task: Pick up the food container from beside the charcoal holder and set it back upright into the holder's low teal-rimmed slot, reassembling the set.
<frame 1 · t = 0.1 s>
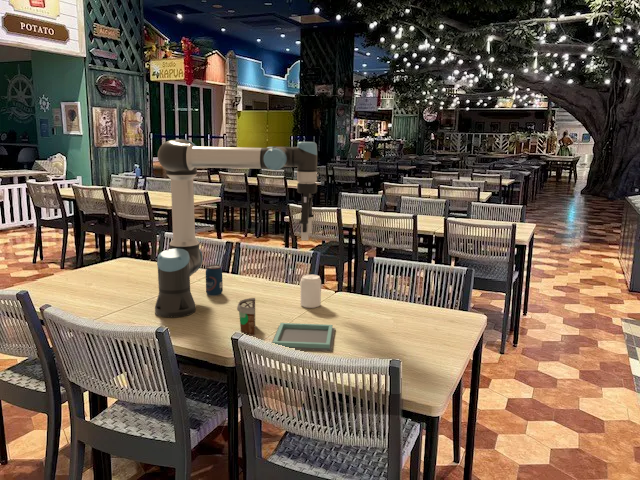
hand: (306, 236, 222), 28 cm above the table, tool pointing down, fingers open, 13 cm apart
soda can: (214, 294, 241), on the table
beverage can: (310, 306, 228), on the table
container holder: (303, 338, 192), on the table
food container: (246, 330, 200), on the table
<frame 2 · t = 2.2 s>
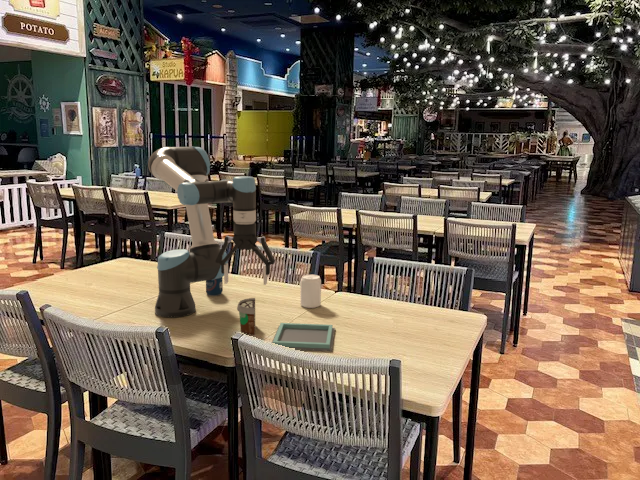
hand: (245, 283, 196), 17 cm above the table, tool pointing down, fingers open, 13 cm apart
nothing on the table moved.
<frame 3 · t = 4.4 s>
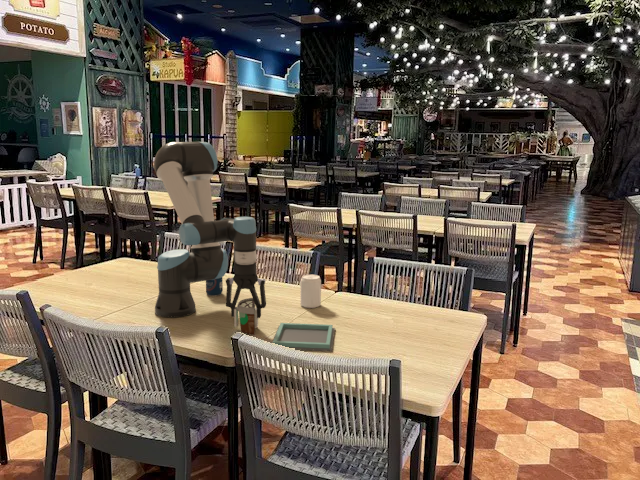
hand: (246, 326, 199), 2 cm above the table, tool pointing down, fingers closed on food container, 6 cm apart
food container: (246, 330, 200), on the table, touching gripper
everything else where it was.
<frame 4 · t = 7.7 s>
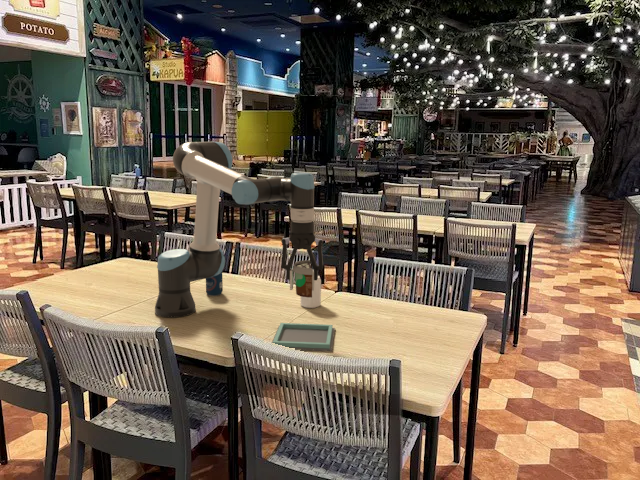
hand: (302, 289, 189), 17 cm above the table, tool pointing down, fingers closed on food container, 6 cm apart
food container: (301, 293, 189), point 16 cm above the table, touching gripper
everything else where it was.
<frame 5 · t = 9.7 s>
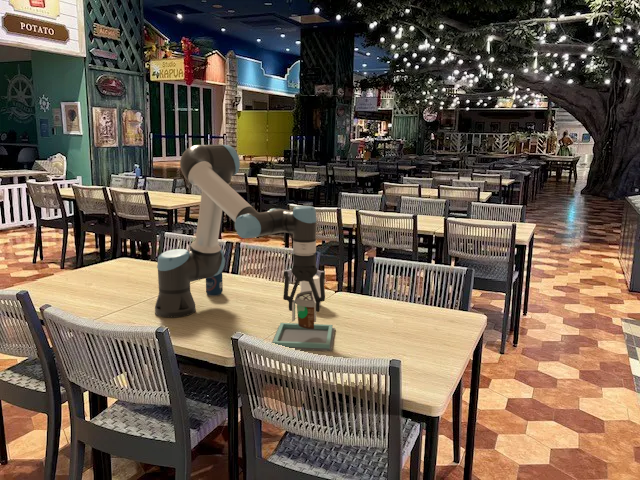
hand: (304, 320, 191), 7 cm above the table, tool pointing down, fingers closed on food container, 6 cm apart
food container: (303, 324, 191), point 5 cm above the table, touching gripper
everything else where it was.
when the fingers open (3 cm above the table, at t = 11.2 s): food container stays where it is, resting on container holder.
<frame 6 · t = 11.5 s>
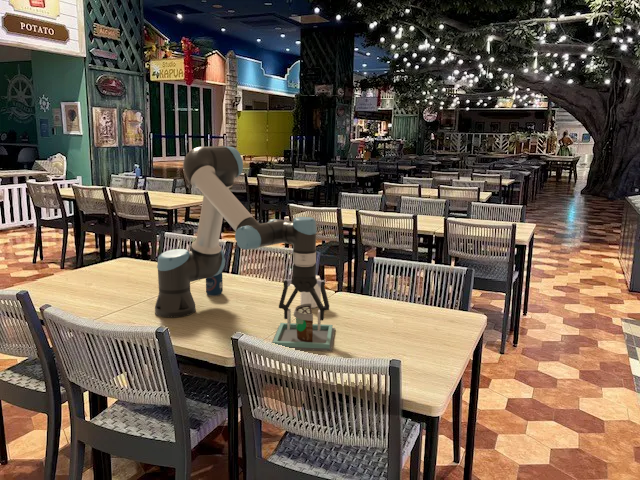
hand: (303, 328, 192), 4 cm above the table, tool pointing down, fingers open, 9 cm apart
food container: (302, 337, 192), resting on container holder
everything else where it was.
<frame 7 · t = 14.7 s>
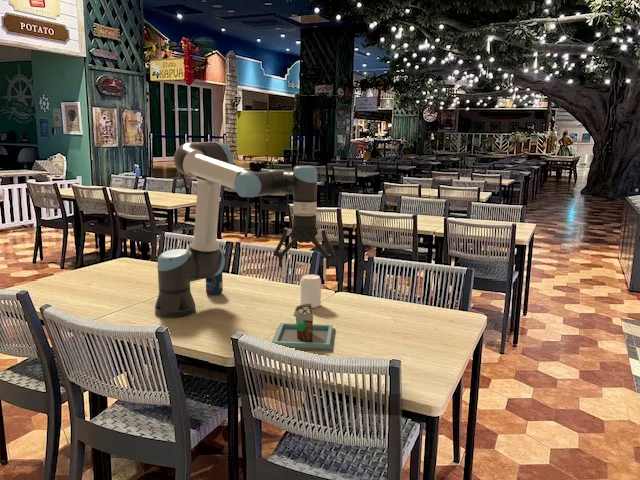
hand: (304, 277, 188), 21 cm above the table, tool pointing down, fingers open, 13 cm apart
nothing on the table moved.
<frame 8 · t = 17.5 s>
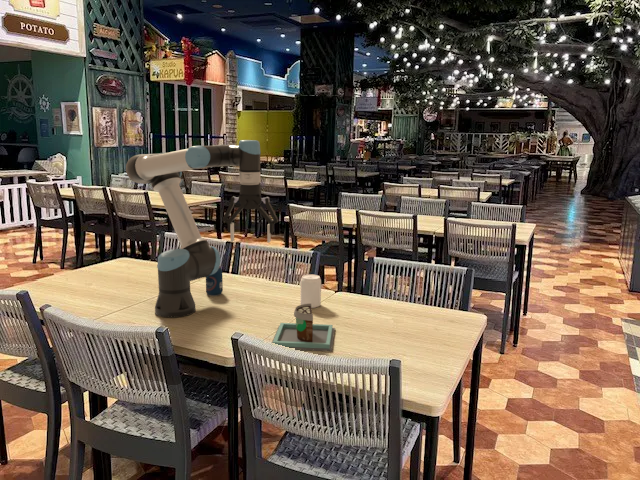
hand: (250, 241, 209), 29 cm above the table, tool pointing down, fingers open, 13 cm apart
nothing on the table moved.
at the end: food container inside the target area on the container holder (0.4 cm from its centre), point 0.4 cm above the container holder's base; food container tilted 0°; the gripper is holding nothing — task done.
